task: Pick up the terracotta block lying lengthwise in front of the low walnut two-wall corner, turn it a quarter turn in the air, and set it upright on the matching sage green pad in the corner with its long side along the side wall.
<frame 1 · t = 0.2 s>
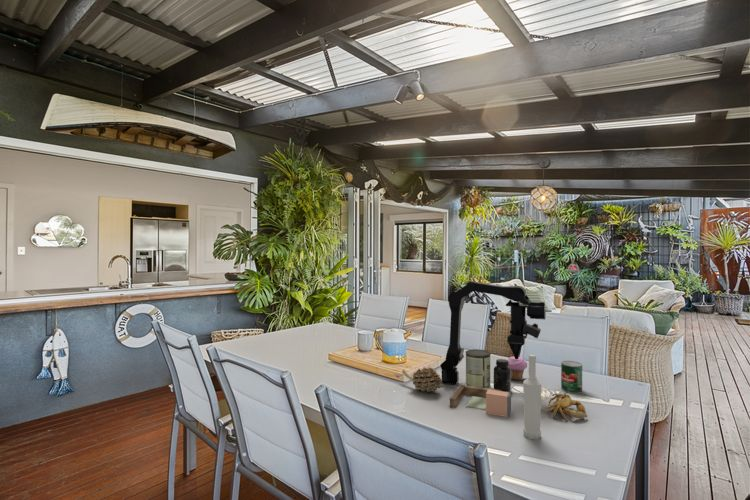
hand: (517, 356, 165), 15 cm above the table, tool pointing down, fingers open, 9 cm apart
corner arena: (479, 402, 154), on the table
pine cone: (419, 389, 168), on the table
terracotta block: (498, 412, 145), on the table
crab model: (566, 415, 144), on the table
canned tomato: (571, 390, 167), on the table
supplement bottle: (502, 390, 168), on the table
coffee can: (477, 385, 173), on the table
bottle: (532, 436, 127), on the table
cupcake: (516, 379, 182), on the table
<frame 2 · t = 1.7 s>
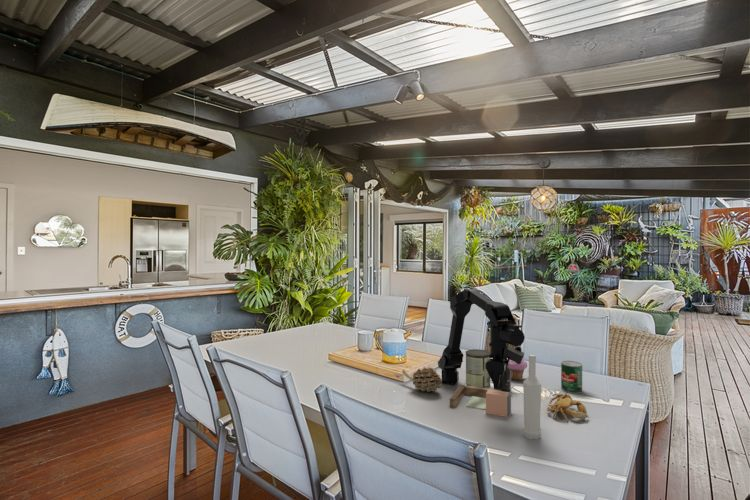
hand: (498, 383, 145), 10 cm above the table, tool pointing down, fingers open, 9 cm apart
nothing on the table moved.
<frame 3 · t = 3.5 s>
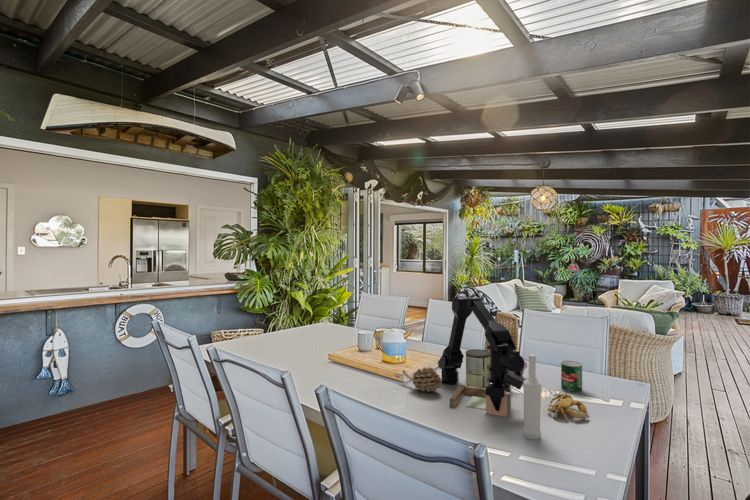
hand: (498, 408, 145), 2 cm above the table, tool pointing down, fingers closed on terracotta block, 4 cm apart
terracotta block: (498, 412, 145), on the table, touching gripper
everything else where it was.
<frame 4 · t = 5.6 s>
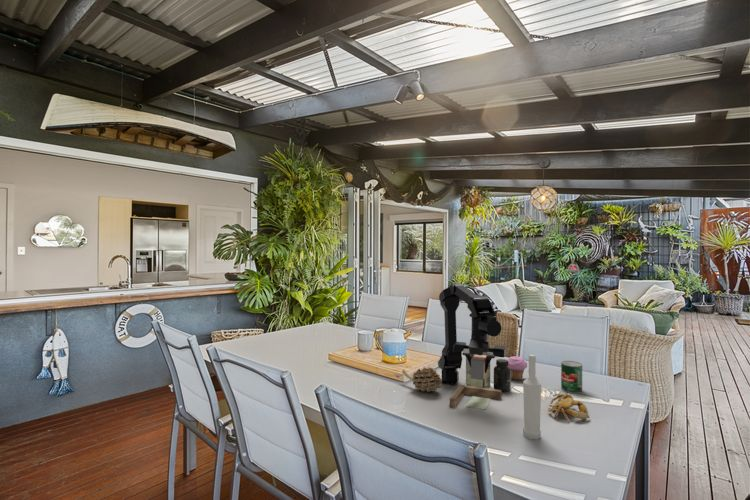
hand: (479, 372, 153), 12 cm above the table, tool pointing down, fingers closed on terracotta block, 4 cm apart
terracotta block: (479, 376, 153), point 10 cm above the table, touching gripper
everything else where it was.
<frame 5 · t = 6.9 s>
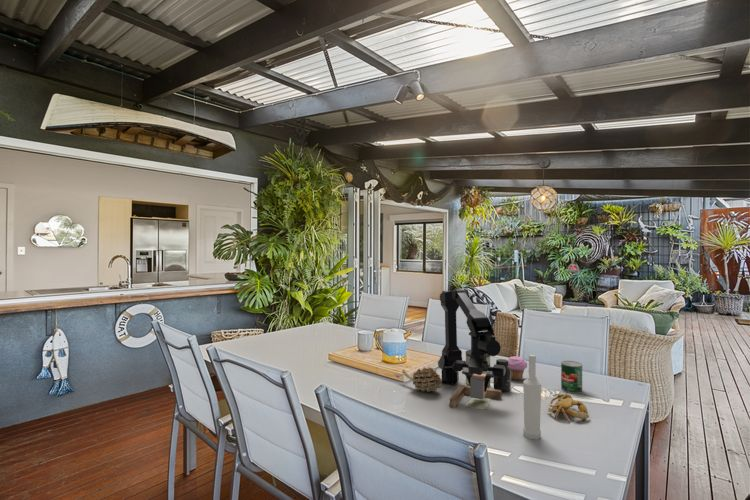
hand: (478, 390, 154), 5 cm above the table, tool pointing down, fingers closed on terracotta block, 4 cm apart
terracotta block: (478, 394, 154), point 3 cm above the table, touching gripper
everything else where it was.
when the fingers open (3 cm above the table, at t = 8.1 s): terracotta block stays where it is, resting on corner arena.
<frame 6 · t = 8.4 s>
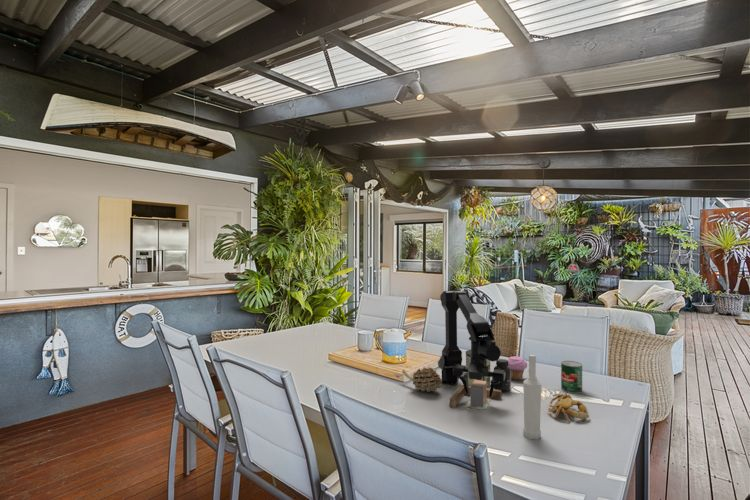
hand: (478, 395, 153), 3 cm above the table, tool pointing down, fingers open, 8 cm apart
terracotta block: (478, 402, 153), resting on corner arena
everything else where it was.
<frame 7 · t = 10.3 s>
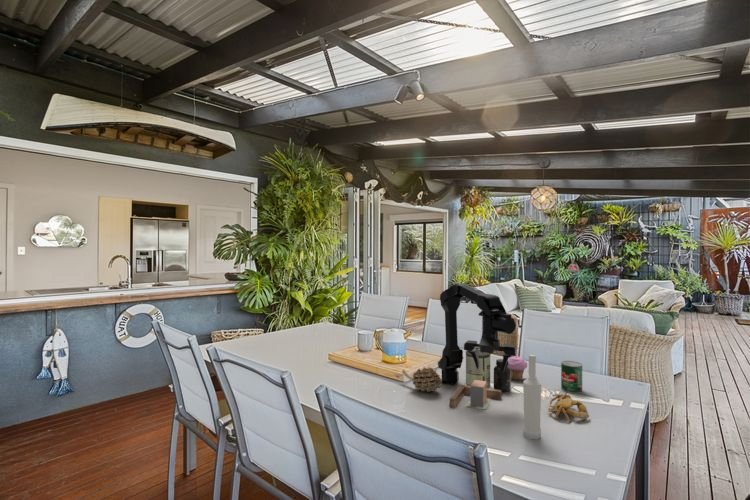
hand: (490, 370, 154), 12 cm above the table, tool pointing down, fingers open, 9 cm apart
nothing on the table moved.
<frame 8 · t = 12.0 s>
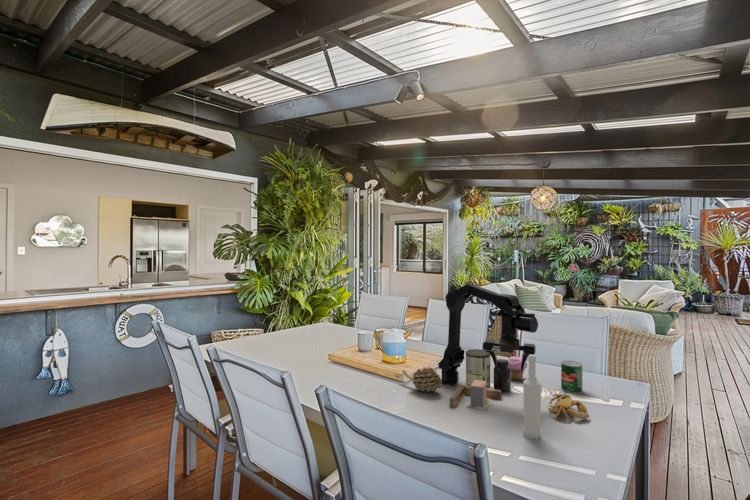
hand: (508, 369, 156), 12 cm above the table, tool pointing down, fingers open, 9 cm apart
nothing on the table moved.
at the end: terracotta block 0.0 cm from the target spot, resting on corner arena; terracotta block tilted 0°; the gripper is holding nothing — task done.
